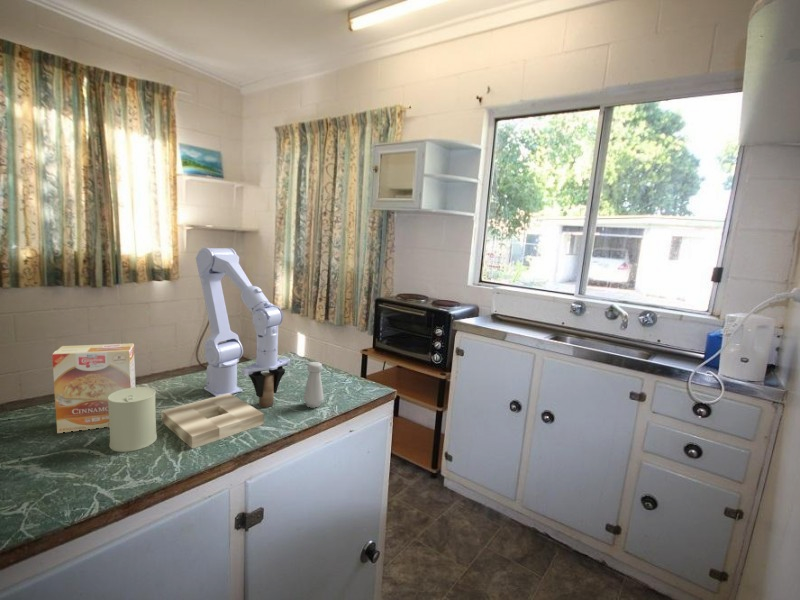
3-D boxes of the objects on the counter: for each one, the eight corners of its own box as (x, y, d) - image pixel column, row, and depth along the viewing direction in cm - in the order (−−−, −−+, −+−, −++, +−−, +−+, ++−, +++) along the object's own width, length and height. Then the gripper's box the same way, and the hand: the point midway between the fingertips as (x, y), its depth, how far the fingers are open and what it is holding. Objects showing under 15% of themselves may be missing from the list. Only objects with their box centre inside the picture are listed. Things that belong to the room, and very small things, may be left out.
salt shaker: (318, 410, 116) (320, 367, 114) (300, 407, 117) (301, 364, 115) (326, 402, 121) (328, 361, 119) (308, 400, 122) (309, 359, 120)
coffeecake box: (56, 434, 94) (50, 353, 91) (65, 420, 100) (60, 345, 97) (132, 425, 100) (129, 349, 97) (137, 413, 107) (134, 342, 104)
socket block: (161, 421, 103) (161, 410, 102) (229, 402, 117) (229, 392, 116) (192, 448, 92) (192, 436, 91) (263, 424, 105) (263, 413, 105)
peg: (256, 404, 117) (256, 374, 115) (268, 400, 120) (269, 371, 118) (263, 408, 114) (264, 378, 113) (276, 404, 117) (276, 375, 116)
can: (105, 455, 87) (103, 402, 85) (112, 435, 95) (110, 387, 93) (155, 447, 91) (154, 397, 89) (158, 429, 99) (157, 382, 97)
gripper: (251, 356, 106) (250, 405, 108) (297, 347, 117) (295, 391, 120) (237, 350, 111) (237, 397, 113) (283, 342, 122) (281, 385, 124)
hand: (266, 394), depth 116 cm, fingers closed on peg, 4 cm apart
